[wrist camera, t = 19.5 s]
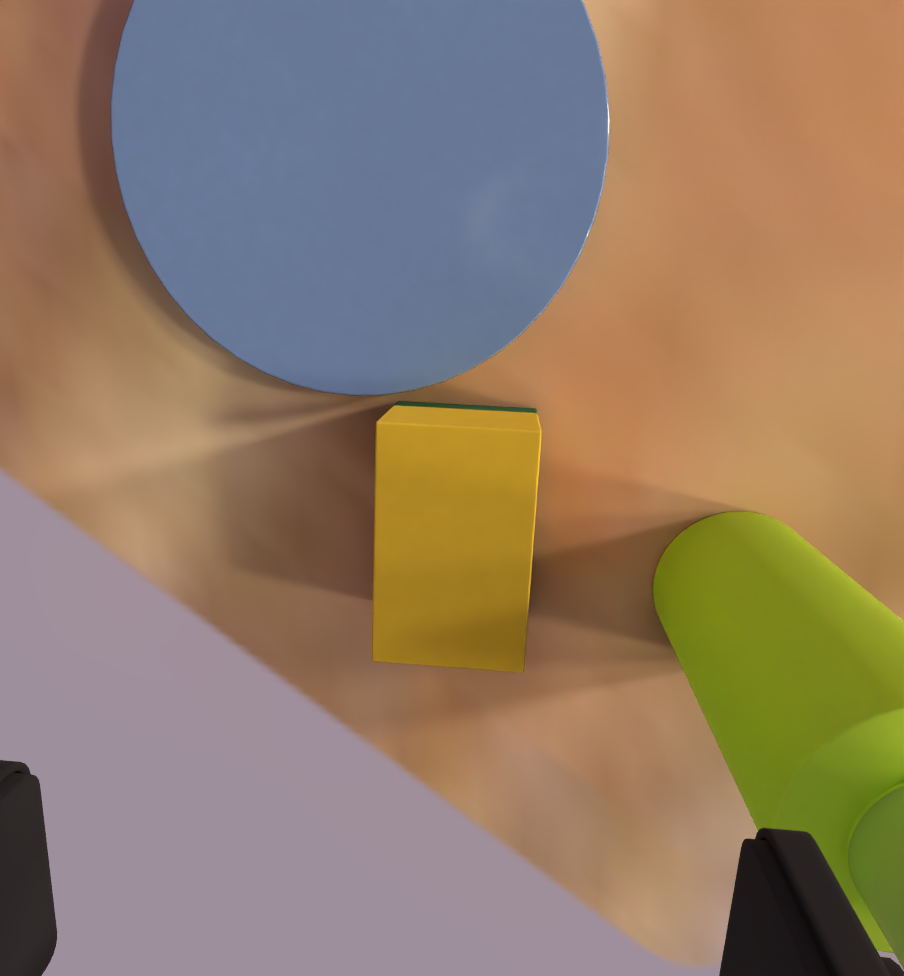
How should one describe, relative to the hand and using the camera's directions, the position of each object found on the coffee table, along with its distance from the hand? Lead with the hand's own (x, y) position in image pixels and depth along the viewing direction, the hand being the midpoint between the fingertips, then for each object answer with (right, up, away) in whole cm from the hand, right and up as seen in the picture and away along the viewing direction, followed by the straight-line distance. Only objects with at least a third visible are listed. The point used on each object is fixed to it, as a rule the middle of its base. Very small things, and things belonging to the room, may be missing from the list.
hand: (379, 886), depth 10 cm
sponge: (+1, +4, +18) cm, 18 cm away
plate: (-2, +16, +15) cm, 22 cm away
